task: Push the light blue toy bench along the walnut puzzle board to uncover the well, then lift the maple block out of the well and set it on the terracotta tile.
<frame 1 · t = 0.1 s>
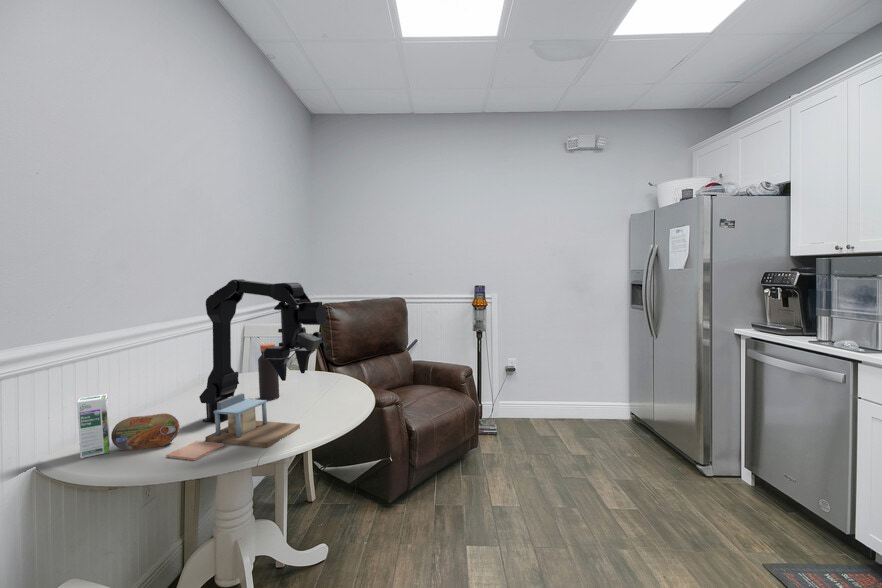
hand: (293, 376, 122), 15 cm above the table, tool pointing down, fingers open, 9 cm apart
syrup box: (95, 453, 106), on the table
terracotta tile: (195, 451, 105), on the table
maple block: (242, 433, 117), resting in puzzle board
light blue toy bench: (241, 413, 116), point 6 cm above the table, slide at 0.0 cm
bottle: (269, 398, 152), on the table
tin: (147, 447, 109), on the table
puzzle board: (254, 434, 116), on the table
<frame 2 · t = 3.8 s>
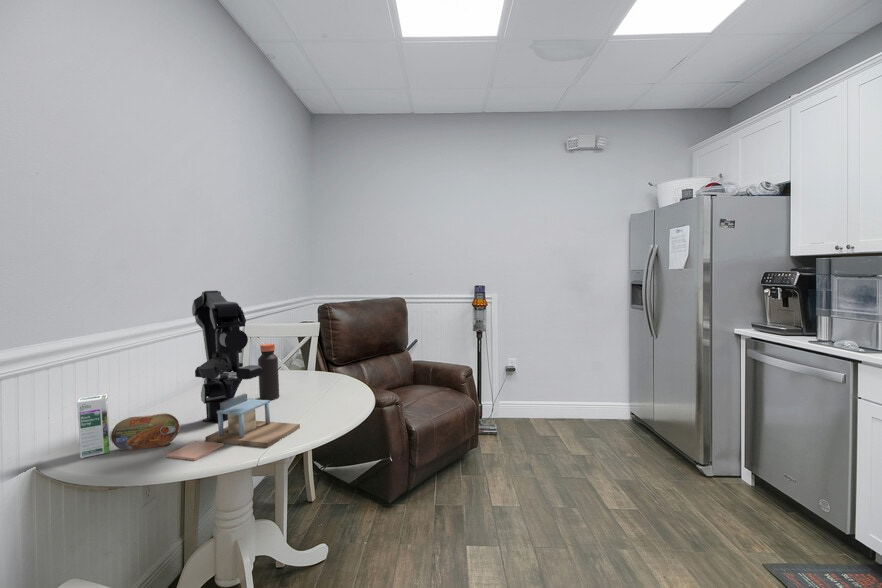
hand: (230, 401, 117), 9 cm above the table, tool pointing down, fingers closed
light blue toy bench: (244, 413, 116), point 6 cm above the table, slide at 1.0 cm, touching gripper
everything else where it was.
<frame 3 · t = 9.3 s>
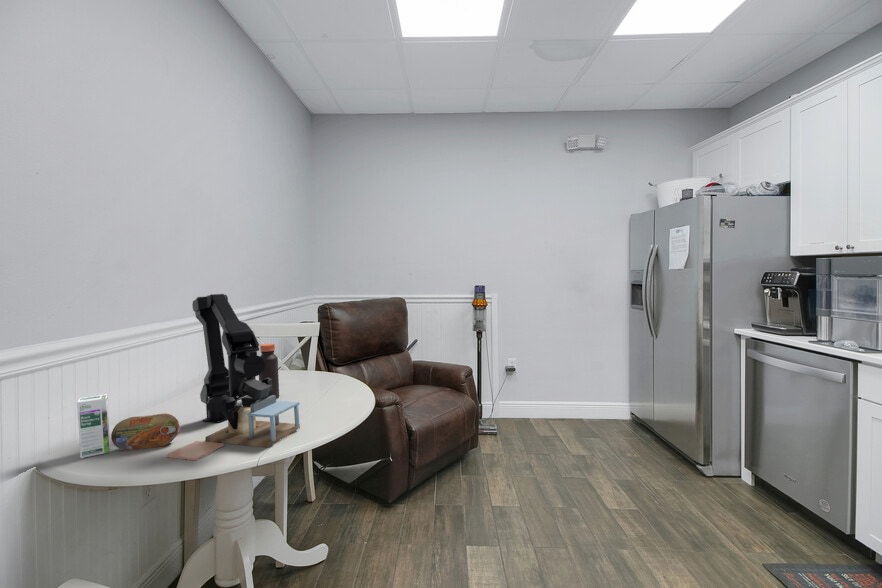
hand: (242, 425, 116), 2 cm above the table, tool pointing down, fingers closed on maple block, 5 cm apart
maple block: (242, 433, 117), resting in puzzle board, touching gripper
light blue toy bench: (274, 416, 113), point 6 cm above the table, slide at 11.0 cm
everything else where it was.
when the fingers open (4 cm above the table, at t = 14.4 s): maple block drops 1 cm, resting on terracotta tile.
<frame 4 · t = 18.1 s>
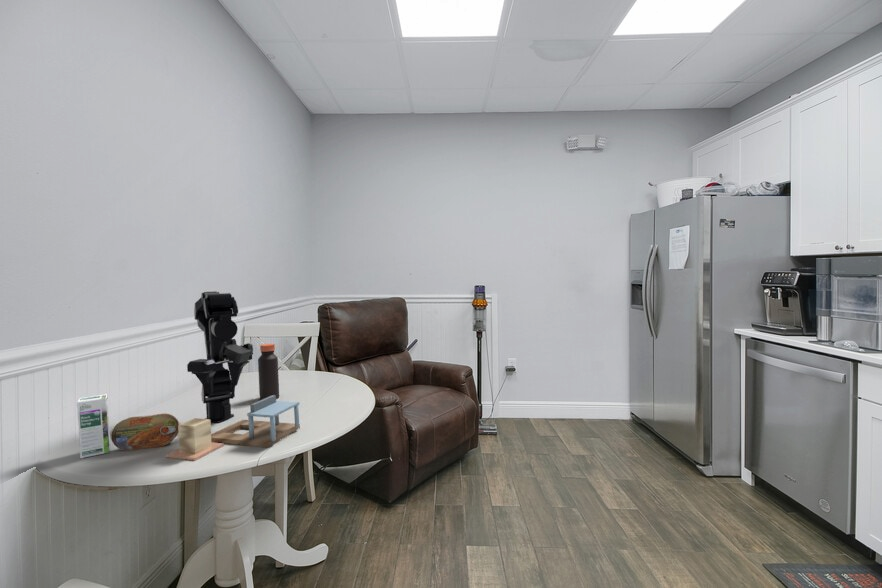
hand: (223, 389, 119), 12 cm above the table, tool pointing down, fingers open, 9 cm apart
maple block: (195, 449, 105), point 1 cm above the table, touching terracotta tile
everything else where it was.
at the end: light blue toy bench slide at 11.0 cm; maple block 0.0 cm off-centre on the terracotta tile, point 0.6 cm above the terracotta tile's base; maple block tilted 0° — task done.
